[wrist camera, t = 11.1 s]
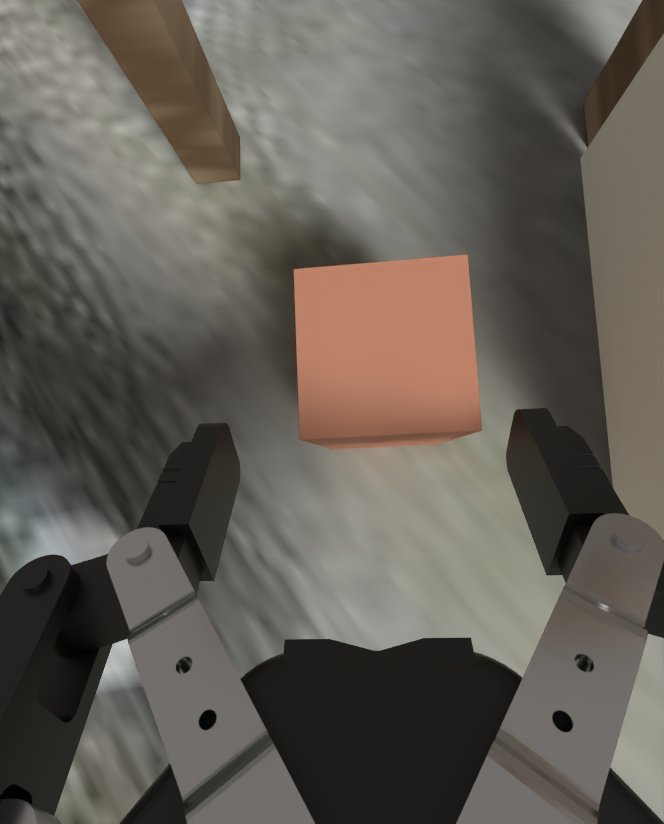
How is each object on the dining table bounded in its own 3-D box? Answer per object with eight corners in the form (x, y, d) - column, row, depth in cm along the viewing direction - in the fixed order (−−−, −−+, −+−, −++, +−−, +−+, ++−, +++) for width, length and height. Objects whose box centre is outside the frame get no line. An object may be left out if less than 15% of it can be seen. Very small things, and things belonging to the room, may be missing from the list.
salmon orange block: (332, 449, 22) (299, 439, 13) (328, 348, 23) (293, 269, 13) (437, 444, 22) (482, 430, 12) (429, 341, 22) (467, 254, 13)
